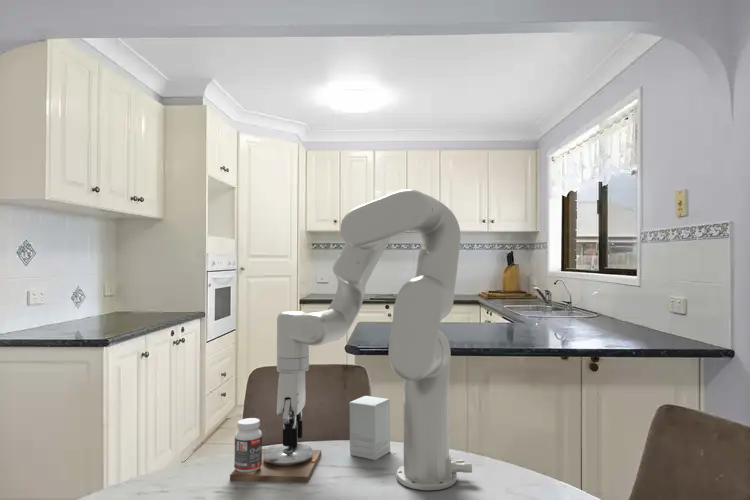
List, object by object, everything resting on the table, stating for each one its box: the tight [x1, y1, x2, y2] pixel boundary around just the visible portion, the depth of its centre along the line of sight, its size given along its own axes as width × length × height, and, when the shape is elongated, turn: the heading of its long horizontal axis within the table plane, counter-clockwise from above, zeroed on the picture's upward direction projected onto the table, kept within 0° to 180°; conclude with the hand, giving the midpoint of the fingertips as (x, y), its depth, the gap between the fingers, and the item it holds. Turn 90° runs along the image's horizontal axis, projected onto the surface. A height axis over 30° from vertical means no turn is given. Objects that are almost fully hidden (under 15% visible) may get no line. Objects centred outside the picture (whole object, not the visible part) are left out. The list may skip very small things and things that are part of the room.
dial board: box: [229, 448, 322, 484], centre depth 112 cm, size 16×16×2 cm
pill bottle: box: [233, 417, 263, 472], centre depth 108 cm, size 6×6×10 cm
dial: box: [263, 420, 314, 466], centre depth 114 cm, size 11×11×6 cm
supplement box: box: [348, 395, 391, 461], centre depth 121 cm, size 7×7×13 cm
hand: (292, 440), depth 119 cm, fingers open, 4 cm apart
